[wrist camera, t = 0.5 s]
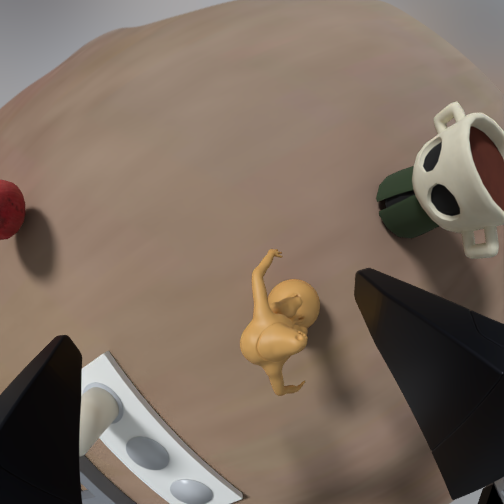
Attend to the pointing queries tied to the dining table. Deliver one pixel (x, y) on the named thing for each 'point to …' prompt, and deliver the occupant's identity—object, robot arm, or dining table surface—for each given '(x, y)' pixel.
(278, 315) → the figurine
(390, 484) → the dining table surface
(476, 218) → the character mug
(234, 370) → the dining table surface
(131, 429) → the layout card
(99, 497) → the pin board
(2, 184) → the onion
